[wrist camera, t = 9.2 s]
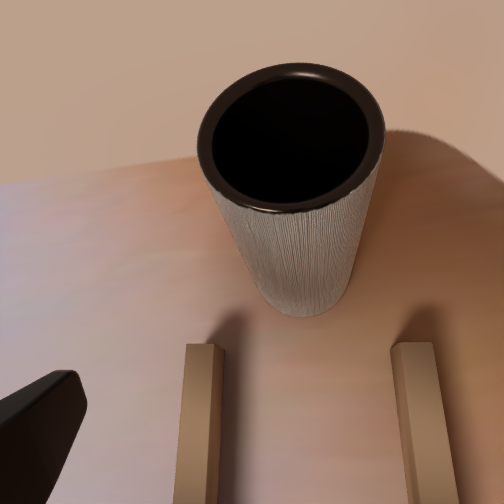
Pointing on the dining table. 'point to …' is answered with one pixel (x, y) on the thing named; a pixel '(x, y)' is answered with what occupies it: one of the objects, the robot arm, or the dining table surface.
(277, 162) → the planter
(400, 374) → the tan u-shaped frame
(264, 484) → the dining table surface
